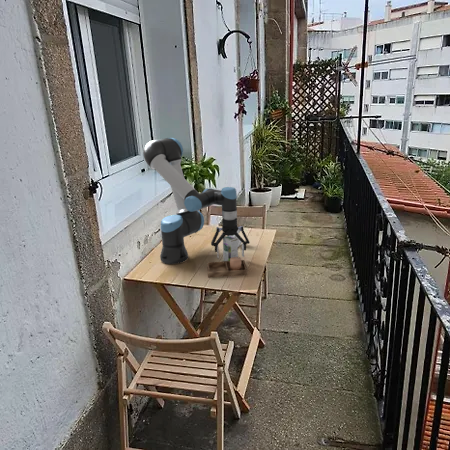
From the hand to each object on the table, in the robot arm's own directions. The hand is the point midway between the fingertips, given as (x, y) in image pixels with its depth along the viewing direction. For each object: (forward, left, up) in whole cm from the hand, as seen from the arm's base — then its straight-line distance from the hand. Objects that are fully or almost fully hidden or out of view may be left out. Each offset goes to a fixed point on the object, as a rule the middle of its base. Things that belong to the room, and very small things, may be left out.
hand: (230, 256), depth 198 cm
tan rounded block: (+1, -11, -3) cm, 11 cm away
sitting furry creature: (+5, +24, -4) cm, 25 cm away
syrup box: (0, 0, -4) cm, 4 cm away
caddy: (-3, -11, -4) cm, 12 cm away
